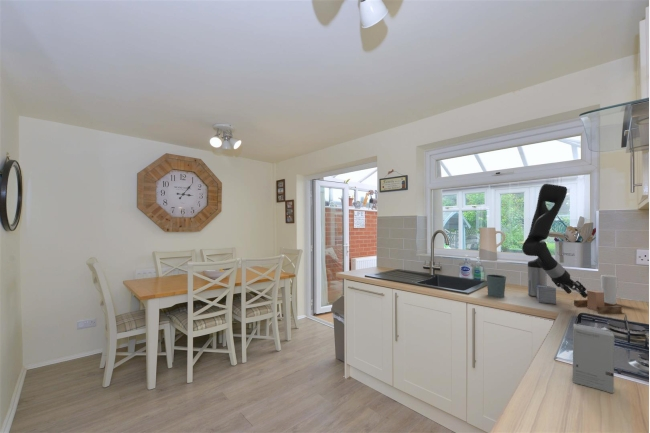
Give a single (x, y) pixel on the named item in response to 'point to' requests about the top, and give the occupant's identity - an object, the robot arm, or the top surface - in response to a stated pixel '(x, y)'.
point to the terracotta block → (595, 299)
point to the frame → (601, 307)
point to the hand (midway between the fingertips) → (577, 294)
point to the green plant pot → (496, 285)
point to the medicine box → (546, 294)
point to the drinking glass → (609, 288)
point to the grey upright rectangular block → (593, 357)
